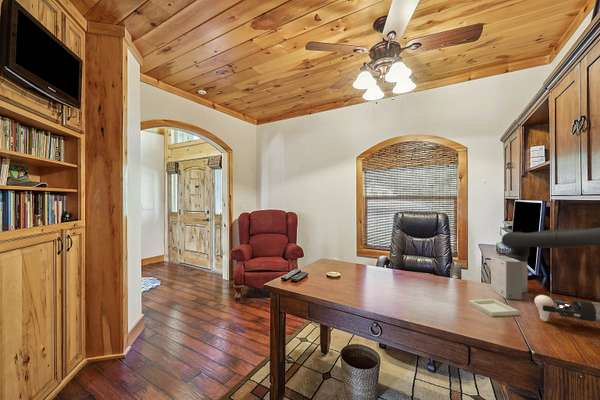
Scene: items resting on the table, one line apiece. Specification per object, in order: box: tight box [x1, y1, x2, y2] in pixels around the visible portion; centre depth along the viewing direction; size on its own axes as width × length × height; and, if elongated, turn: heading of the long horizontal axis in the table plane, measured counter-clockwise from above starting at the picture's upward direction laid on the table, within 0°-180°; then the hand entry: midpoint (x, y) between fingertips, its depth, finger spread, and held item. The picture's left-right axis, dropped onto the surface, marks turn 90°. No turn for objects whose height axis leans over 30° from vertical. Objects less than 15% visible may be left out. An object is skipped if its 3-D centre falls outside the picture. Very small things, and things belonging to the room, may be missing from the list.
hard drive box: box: [490, 254, 523, 301], centre depth 138 cm, size 16×8×20 cm, turn 168°
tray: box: [468, 298, 520, 318], centre depth 120 cm, size 13×13×2 cm
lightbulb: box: [534, 294, 554, 322], centre depth 108 cm, size 6×6×11 cm
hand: (539, 304), depth 109 cm, fingers open, 8 cm apart
